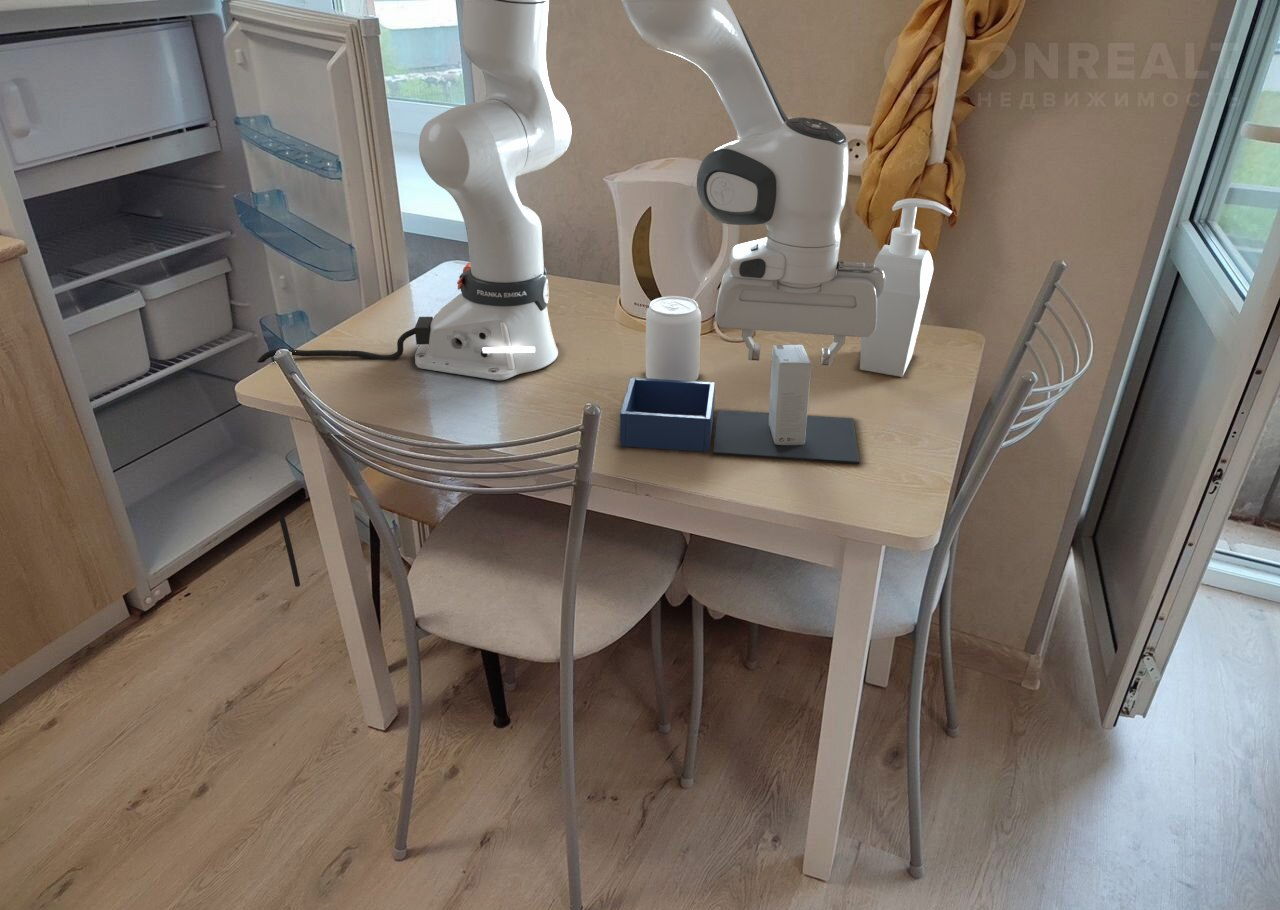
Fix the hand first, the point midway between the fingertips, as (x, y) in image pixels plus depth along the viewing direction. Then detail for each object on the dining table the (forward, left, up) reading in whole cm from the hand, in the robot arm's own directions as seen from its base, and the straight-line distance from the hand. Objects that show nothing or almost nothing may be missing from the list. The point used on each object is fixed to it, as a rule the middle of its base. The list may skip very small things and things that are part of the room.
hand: (789, 361), depth 123 cm
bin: (-16, 0, -11) cm, 19 cm away
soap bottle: (+17, +26, -12) cm, 33 cm away
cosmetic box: (0, 0, -11) cm, 11 cm away
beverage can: (-17, +16, -12) cm, 26 cm away
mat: (0, 0, -11) cm, 11 cm away
